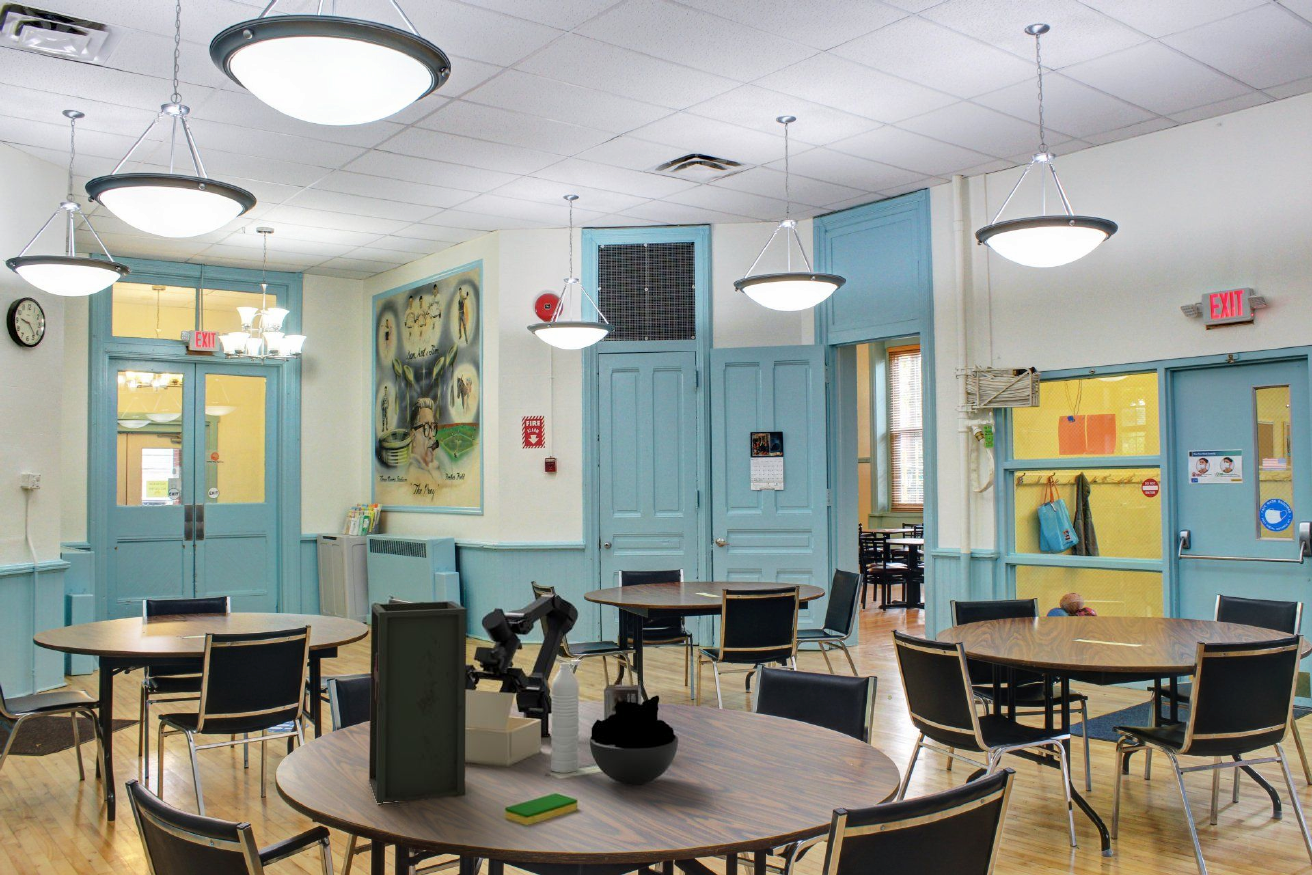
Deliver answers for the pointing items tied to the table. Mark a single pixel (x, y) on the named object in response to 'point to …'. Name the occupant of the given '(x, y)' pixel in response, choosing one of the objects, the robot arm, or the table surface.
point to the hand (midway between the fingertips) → (478, 705)
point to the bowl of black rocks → (633, 743)
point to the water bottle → (565, 720)
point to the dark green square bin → (417, 701)
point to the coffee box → (620, 696)
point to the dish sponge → (540, 809)
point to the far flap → (488, 709)
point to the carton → (503, 742)
